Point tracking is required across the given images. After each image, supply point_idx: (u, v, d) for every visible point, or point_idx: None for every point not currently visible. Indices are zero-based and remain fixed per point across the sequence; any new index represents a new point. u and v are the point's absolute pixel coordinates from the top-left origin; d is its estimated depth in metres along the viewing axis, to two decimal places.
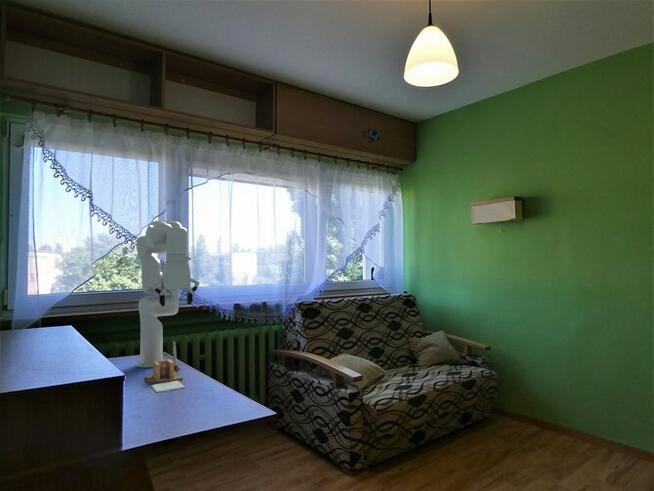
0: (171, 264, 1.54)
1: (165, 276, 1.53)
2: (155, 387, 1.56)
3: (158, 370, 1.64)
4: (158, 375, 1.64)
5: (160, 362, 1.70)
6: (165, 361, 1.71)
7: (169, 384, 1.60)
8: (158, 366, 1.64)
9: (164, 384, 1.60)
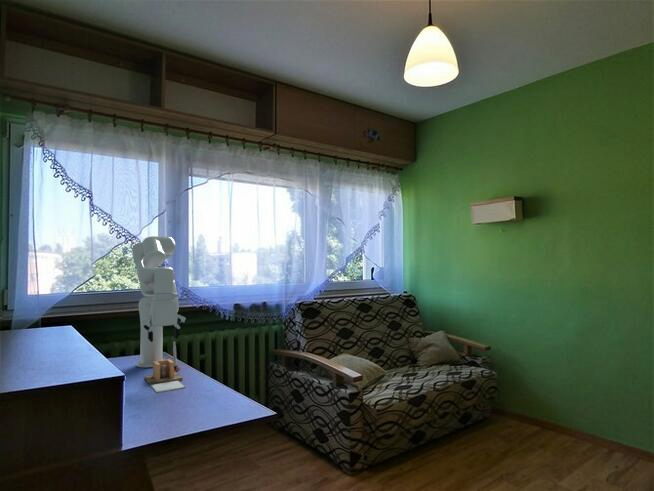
0: (159, 302, 1.66)
1: (153, 314, 1.65)
2: (155, 387, 1.56)
3: (158, 370, 1.64)
4: (158, 375, 1.64)
5: (160, 362, 1.70)
6: (165, 361, 1.71)
7: (169, 384, 1.60)
8: (158, 366, 1.64)
9: (164, 384, 1.60)
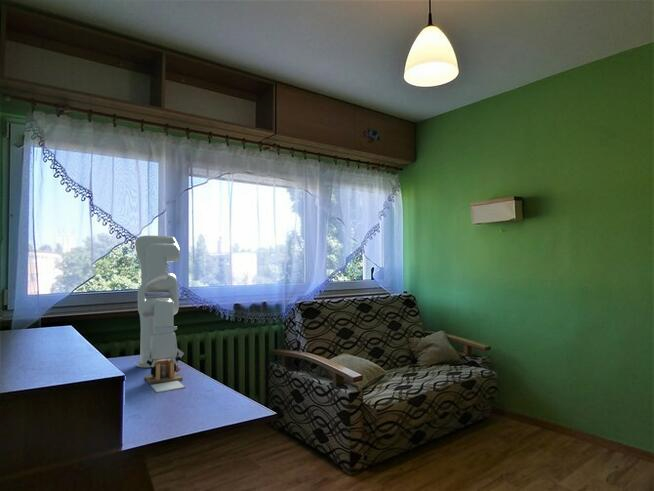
0: (158, 336, 1.66)
1: (153, 347, 1.65)
2: (155, 387, 1.56)
3: (158, 370, 1.64)
4: (158, 375, 1.64)
5: (160, 362, 1.70)
6: (165, 361, 1.71)
7: (169, 384, 1.60)
8: (158, 366, 1.64)
9: (164, 384, 1.60)
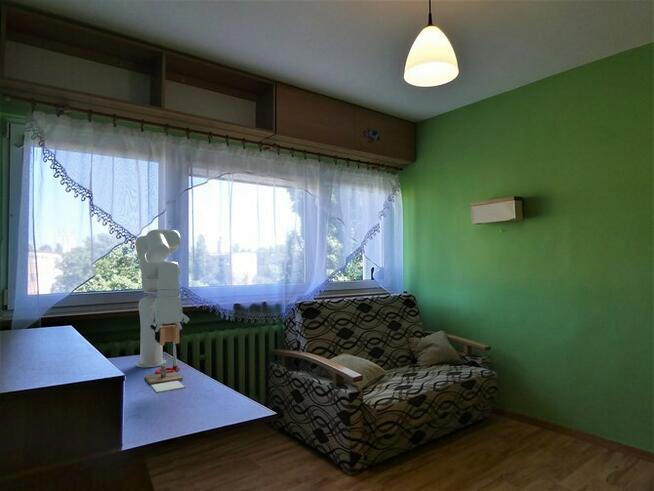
0: (163, 299, 1.56)
1: (157, 311, 1.55)
2: (155, 387, 1.56)
3: (162, 335, 1.54)
4: (162, 340, 1.54)
5: (164, 328, 1.60)
6: (170, 327, 1.61)
7: (169, 384, 1.60)
8: (162, 330, 1.54)
9: (164, 384, 1.60)
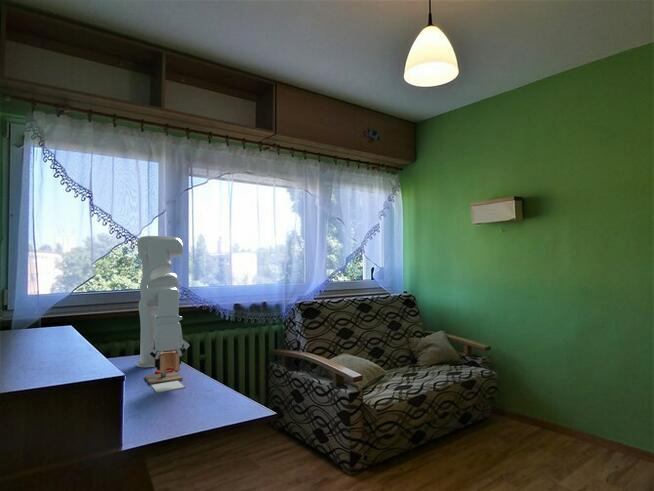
0: (163, 326, 1.56)
1: (157, 338, 1.54)
2: (155, 387, 1.56)
3: (162, 362, 1.54)
4: (162, 368, 1.54)
5: (164, 354, 1.60)
6: (170, 353, 1.61)
7: (169, 384, 1.60)
8: (162, 358, 1.54)
9: (164, 384, 1.60)
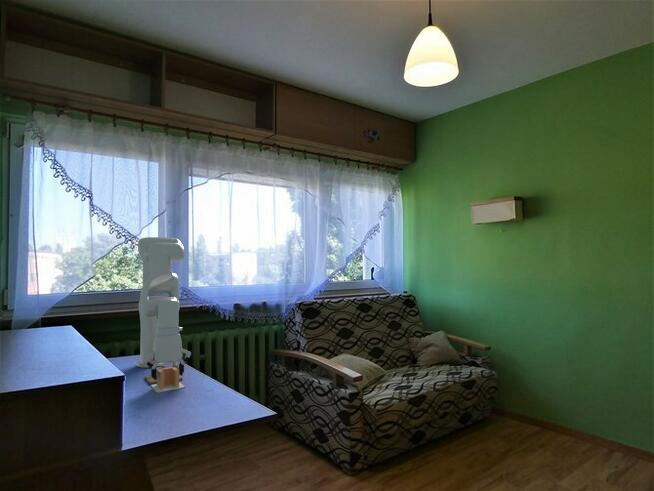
0: (163, 337, 1.55)
1: (157, 350, 1.54)
2: (155, 387, 1.56)
3: (162, 379, 1.54)
4: (162, 384, 1.54)
5: (164, 370, 1.60)
6: (170, 369, 1.61)
7: (169, 384, 1.60)
8: (162, 375, 1.54)
9: None
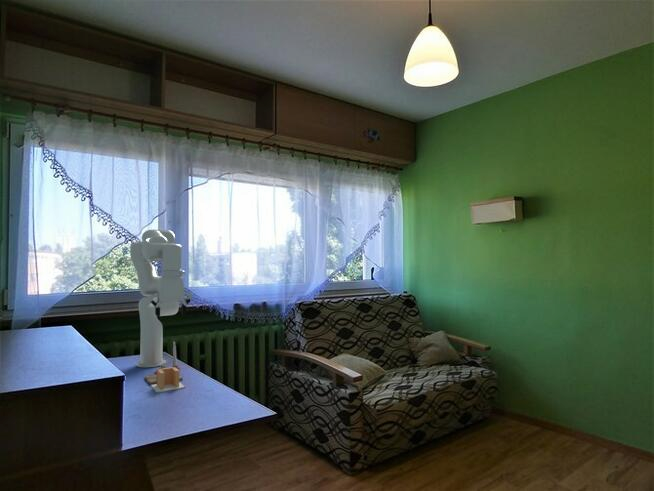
0: (166, 279, 1.67)
1: (160, 290, 1.66)
2: (155, 387, 1.56)
3: (162, 379, 1.54)
4: (162, 384, 1.54)
5: (164, 370, 1.60)
6: (170, 369, 1.61)
7: (169, 384, 1.60)
8: (162, 375, 1.54)
9: None
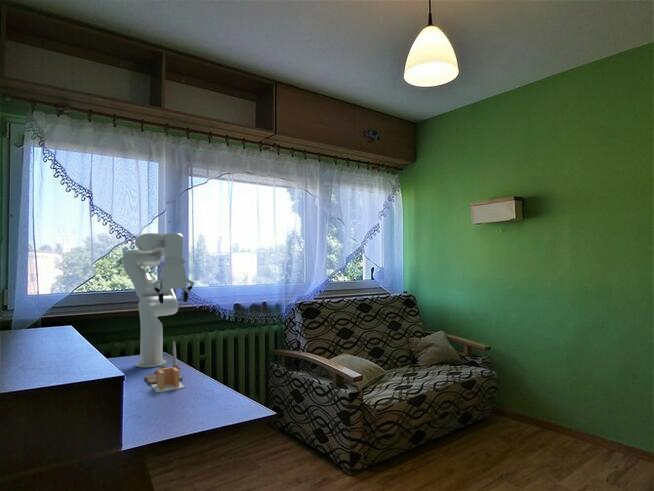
0: (169, 266, 1.74)
1: (163, 277, 1.73)
2: (155, 387, 1.56)
3: (162, 379, 1.54)
4: (162, 384, 1.54)
5: (164, 370, 1.60)
6: (170, 369, 1.61)
7: (169, 384, 1.60)
8: (162, 375, 1.54)
9: None
